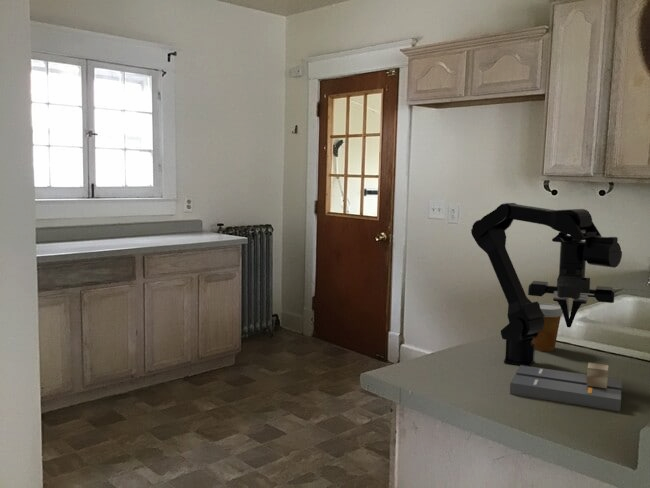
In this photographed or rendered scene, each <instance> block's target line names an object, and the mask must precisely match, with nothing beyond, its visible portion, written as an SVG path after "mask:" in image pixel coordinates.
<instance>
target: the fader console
mask: <svg viewBox="0 0 650 488" xmlns="http://www.w3.org/2000/svg"><path fill="white" fill-rule="evenodd" d="M622 381H623V380H622V379H621V378H613V377H608V380H607V389H606V388H599V387H593V386H586V385H587V373H586V374H585V373H579V372H578V373H577V372H571V371H564V370H559V369H558V370H555V369H549V368H543V367H534V366H524V365H519V367H518V368H517V370H516V372H515V374H514V375H513V378H512V379H511V381H510V384H509V385H510V386H509V395H516V396H521V397H527V398H534V399H541V400H547V401H552V402H559V403H565V404H571V405H578V406H583V407H589V408H596V409H601V410H607V411H608V410H609V411H613V412H621V407H622V405H621V404H622V386H623V384H622V383H623V382H622Z"/></svg>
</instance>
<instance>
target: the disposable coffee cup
mask: <svg viewBox="0 0 650 488" xmlns="http://www.w3.org/2000/svg"><path fill="white" fill-rule="evenodd" d="M538 303H539V305H540V309H541V311H542V313H543V314H544V315H545V316H544V317H543V318H544V323H545V324H544V326H543V329H542V330H541V331H540V332H539V334H538V336H537V338H533V344H534V345H535V351H539V352H552V351H555V350H556V349H555V348H556V344H557V343H556V342H557V337H558V333H559V327H560V322H561V317H562V315H563V312H562V309H561V307H560V305H559V304H553V303H549V302H538Z"/></svg>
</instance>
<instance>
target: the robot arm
mask: <svg viewBox="0 0 650 488" xmlns="http://www.w3.org/2000/svg"><path fill="white" fill-rule="evenodd" d="M514 220H515V221H521V222H527V223H532V224H537V225H544V226H547V227H550V228H551V229H553V230H554V231H557V232H558V234H557V235H556V236H554V237H553V238H552V239H551V241H552V242H554V243H555V242H556V243H560V246H559V250H560V251H559V264H558V265H559V266H558V267H559V270H558V277H557V279H556V280H557V281H556V285H549V281H542V280H541V281H540V280H533V281H532V282H531V283H530V284H529V285H528V291H527V295H528V296H533V297H543V296H544V295H545V294H552V295H553V298H552V301H554V302H557V303H558V306H560V307H561V309H562V312H563V313H562V315H563V318H564V321H565V325H566V327H567V328H571V327H572V325H573V322H574V319H575V317H576V315H577V313H578V310H579V309H580V307H581V306H582V305H587V302H588V301H589V300H588V299H589V298H595V299H596V300H597V301H598V303H609V304H612V303H615V291H616V290H615V289H614V287H612V286H602V285H601V286H600V285H596V288H595V289H594V288H593V289H592V288H591V278H590V277H586V264H588V265H592V266H598V267H606V268H616V267H618V266H619V265H620V263H621V260H622V257H623V251H622V248H621V245H620V243H619V242H618V241H619V240H618V239H619V238H618V237H617V236H602V234H601V233H600V231H599V230H598V228H597V227H596V225H595V224H594V221H593V217H592V215H591V213H590V212H589V211H588V210H587V209H585V208H574V209H549V208H544V207H543V208H542V207H537V206H532V205H531V206H530V205H523V204H517V203H515V202H506V203H505V202H504V203H502V204H500V205H499V206H497V207H496V208H495V209H494V210H492V211H491V212H489V213H487V214H486V215H484V216H482V218H480V219H478V220H475V222H473V224H472V228H471V230H470V231H471V232H470V233H471V235H472V238H473V239H474V241H475V243H476V244H477V246H478V247H479V248H480V249H481V250H482V251H484V253H485V254H487V255H486V256H488V258H489V261H490V263H491V267H492V268H493V271H494V272H495V273H494V274H495V276H496V278H497V280H498V283H499V284H500V287H501V290H502V292H503V295H504V297H505V299H506V302H507V305H508V306H507V319H508V320H507V321H508V324H507V325H505V326H504V327H502V328H501V330H500V335H501V338H502V340H505V357H504V360H503V363H504V364H512V365H516V366H517V365H518V366H520V365H522V366H529V367H531V365H532V364H533V363H534V361H535V355H536V354H535V353H536V350H535V345H534V344H533V338H537V336H538V334H539V332H540V331H541V330H542V329H543V326H544V324H545V323H544V318H543V317H544V316H545V315H544V314H543V313H542V311H541V309H540V305H539V303H540V302H538V301H534V302H533V301H531V300H530V299H529V298H528V297H527V295H526V292H525V290H524V287H523V285H522V283H521V280H520V279H519V276H518V273H517V272H516V269H515V266H514V264H513V262H512V260H511V257H510V255H509V253H508V250H507V247H506V244H507V235H506V234H507V233H506V230H507V229H508V228H510V227H511V225H512V224H513V221H514ZM569 298H570V299H572V305H571V310H570V306H569V305H570V304H569Z"/></svg>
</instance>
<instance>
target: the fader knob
mask: <svg viewBox="0 0 650 488" xmlns="http://www.w3.org/2000/svg"><path fill="white" fill-rule="evenodd" d="M586 370H587V371H586V375H587V385H586V386H593V387H599V388H606V389H607V380H608V378H609V377H608V376H609V365H608V364H602V363H593V362H588V364H587V369H586Z"/></svg>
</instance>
